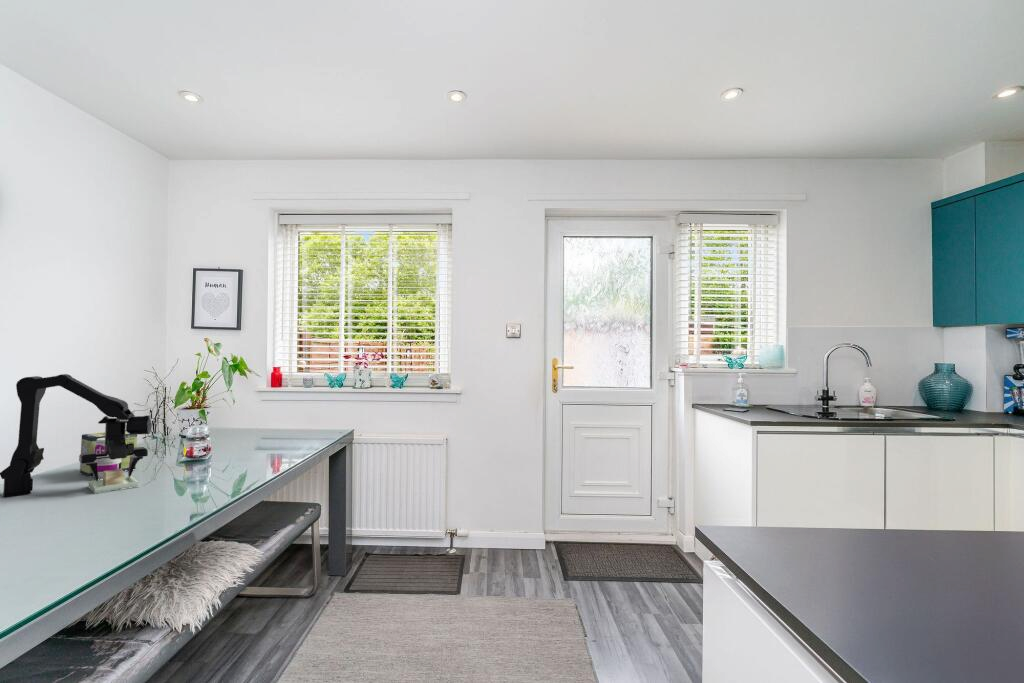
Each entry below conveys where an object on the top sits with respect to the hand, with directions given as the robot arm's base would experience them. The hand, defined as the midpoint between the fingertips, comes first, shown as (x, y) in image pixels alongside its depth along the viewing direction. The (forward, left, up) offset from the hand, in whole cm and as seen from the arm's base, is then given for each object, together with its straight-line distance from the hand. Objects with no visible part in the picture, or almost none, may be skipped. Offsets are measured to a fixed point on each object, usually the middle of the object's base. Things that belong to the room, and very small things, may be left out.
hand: (113, 478), depth 177 cm
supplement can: (+1, +18, -3) cm, 18 cm away
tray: (0, 0, -3) cm, 3 cm away
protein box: (+3, +29, -3) cm, 29 cm away
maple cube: (0, 0, -2) cm, 2 cm away
